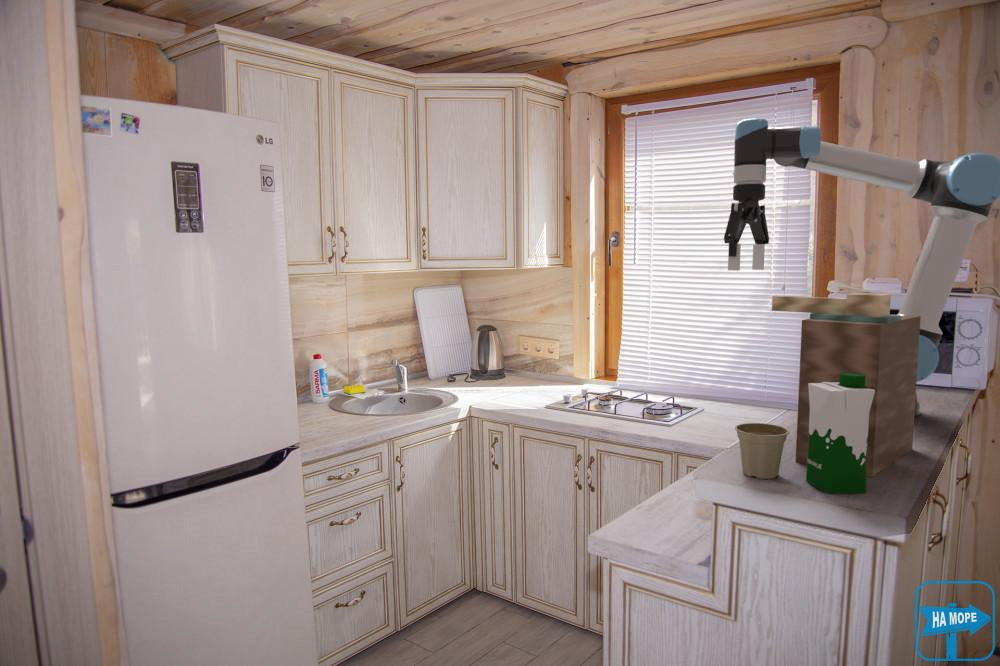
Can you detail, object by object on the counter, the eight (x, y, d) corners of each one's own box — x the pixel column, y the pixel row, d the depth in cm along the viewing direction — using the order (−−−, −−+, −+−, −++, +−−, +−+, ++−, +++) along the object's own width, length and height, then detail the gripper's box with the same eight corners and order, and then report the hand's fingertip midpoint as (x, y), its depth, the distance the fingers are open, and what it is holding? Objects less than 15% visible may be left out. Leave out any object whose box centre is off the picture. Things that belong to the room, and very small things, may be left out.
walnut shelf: (795, 461, 140) (802, 314, 137) (841, 437, 158) (848, 307, 155) (872, 477, 130) (881, 319, 127) (912, 449, 149) (920, 311, 146)
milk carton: (874, 494, 121) (881, 378, 118) (823, 496, 120) (829, 379, 118) (845, 478, 129) (851, 369, 127) (797, 479, 129) (802, 370, 126)
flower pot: (761, 485, 126) (763, 437, 125) (722, 471, 134) (723, 426, 133) (798, 477, 130) (800, 431, 129) (758, 464, 138) (760, 420, 137)
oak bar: (768, 311, 146) (769, 291, 146) (780, 309, 151) (781, 290, 150) (879, 317, 132) (881, 295, 131) (889, 315, 136) (890, 294, 136)
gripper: (756, 188, 188) (753, 269, 190) (711, 181, 170) (708, 270, 172) (784, 186, 182) (781, 269, 185) (741, 179, 165) (737, 271, 167)
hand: (746, 270), depth 178 cm, fingers open, 13 cm apart
